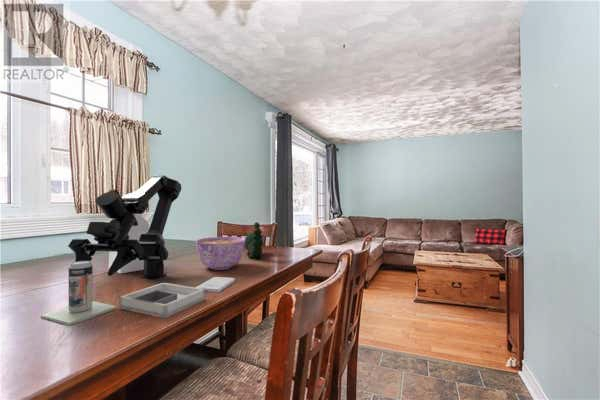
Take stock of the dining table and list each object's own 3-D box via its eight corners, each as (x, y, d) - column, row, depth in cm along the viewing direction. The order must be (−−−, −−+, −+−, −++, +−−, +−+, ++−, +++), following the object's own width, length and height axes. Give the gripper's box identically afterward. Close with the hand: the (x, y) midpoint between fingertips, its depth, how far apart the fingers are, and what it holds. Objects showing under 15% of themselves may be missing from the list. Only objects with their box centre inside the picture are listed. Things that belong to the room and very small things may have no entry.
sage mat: (40, 317, 70) (40, 315, 70) (89, 302, 80) (89, 300, 80) (69, 325, 66) (69, 322, 66) (116, 308, 76) (116, 306, 76)
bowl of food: (196, 275, 108) (196, 244, 108) (194, 264, 127) (194, 237, 127) (249, 271, 115) (249, 242, 115) (240, 261, 134) (241, 235, 134)
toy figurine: (267, 264, 134) (260, 250, 158) (268, 224, 132) (261, 215, 156) (246, 266, 132) (242, 251, 156) (247, 224, 130) (243, 216, 154)
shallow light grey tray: (119, 308, 76) (119, 296, 76) (163, 292, 89) (163, 282, 89) (164, 318, 70) (165, 305, 70) (204, 299, 83) (204, 289, 83)
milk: (151, 267, 120) (151, 204, 120) (120, 273, 111) (120, 205, 111) (138, 263, 127) (138, 204, 127) (108, 268, 118) (108, 204, 118)
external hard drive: (234, 282, 102) (218, 294, 90) (213, 281, 104) (194, 292, 91) (235, 278, 102) (218, 288, 90) (213, 276, 104) (194, 287, 91)
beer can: (63, 313, 71) (63, 264, 71) (78, 306, 76) (78, 260, 76) (82, 314, 71) (82, 264, 71) (96, 306, 75) (97, 260, 75)
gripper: (73, 210, 82) (37, 257, 71) (138, 210, 82) (111, 258, 71) (93, 234, 90) (64, 280, 79) (153, 235, 90) (131, 281, 79)
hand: (91, 275), depth 77 cm, fingers open, 9 cm apart
